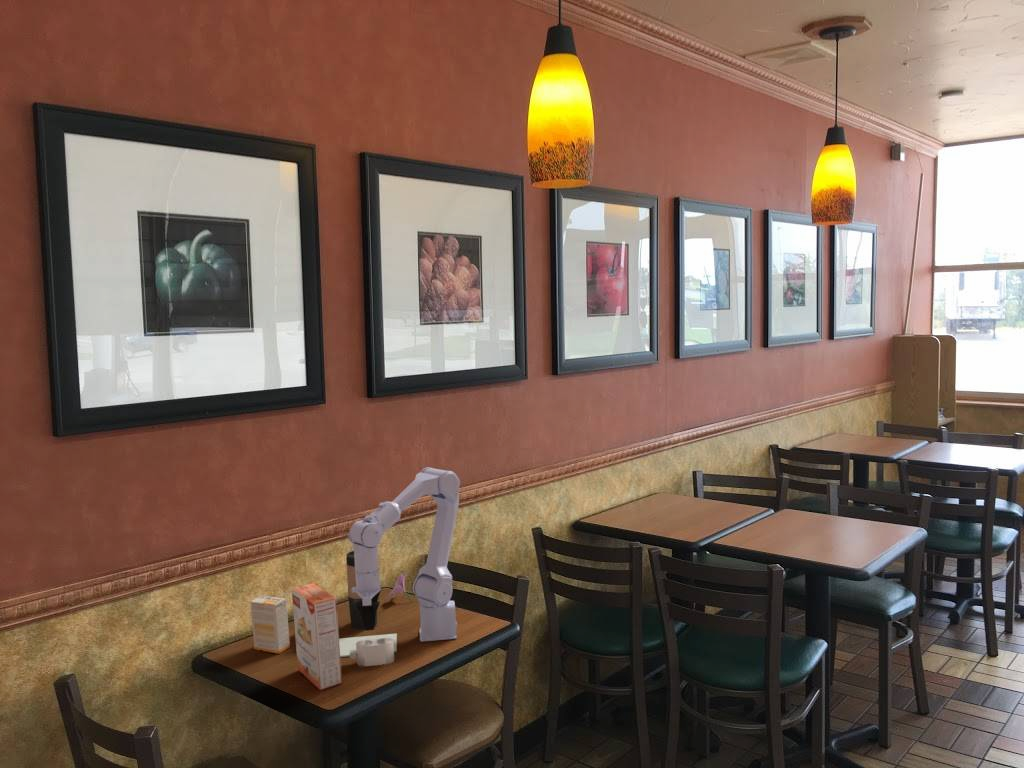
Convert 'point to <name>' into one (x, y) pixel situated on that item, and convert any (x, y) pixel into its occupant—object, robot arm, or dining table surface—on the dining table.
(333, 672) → the cracker box
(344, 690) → the dining table surface
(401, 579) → the lily
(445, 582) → the robot arm
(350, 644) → the mat
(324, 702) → the dining table surface
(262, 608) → the supplement box
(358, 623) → the travel mug
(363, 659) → the grey rounded piece
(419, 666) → the dining table surface
